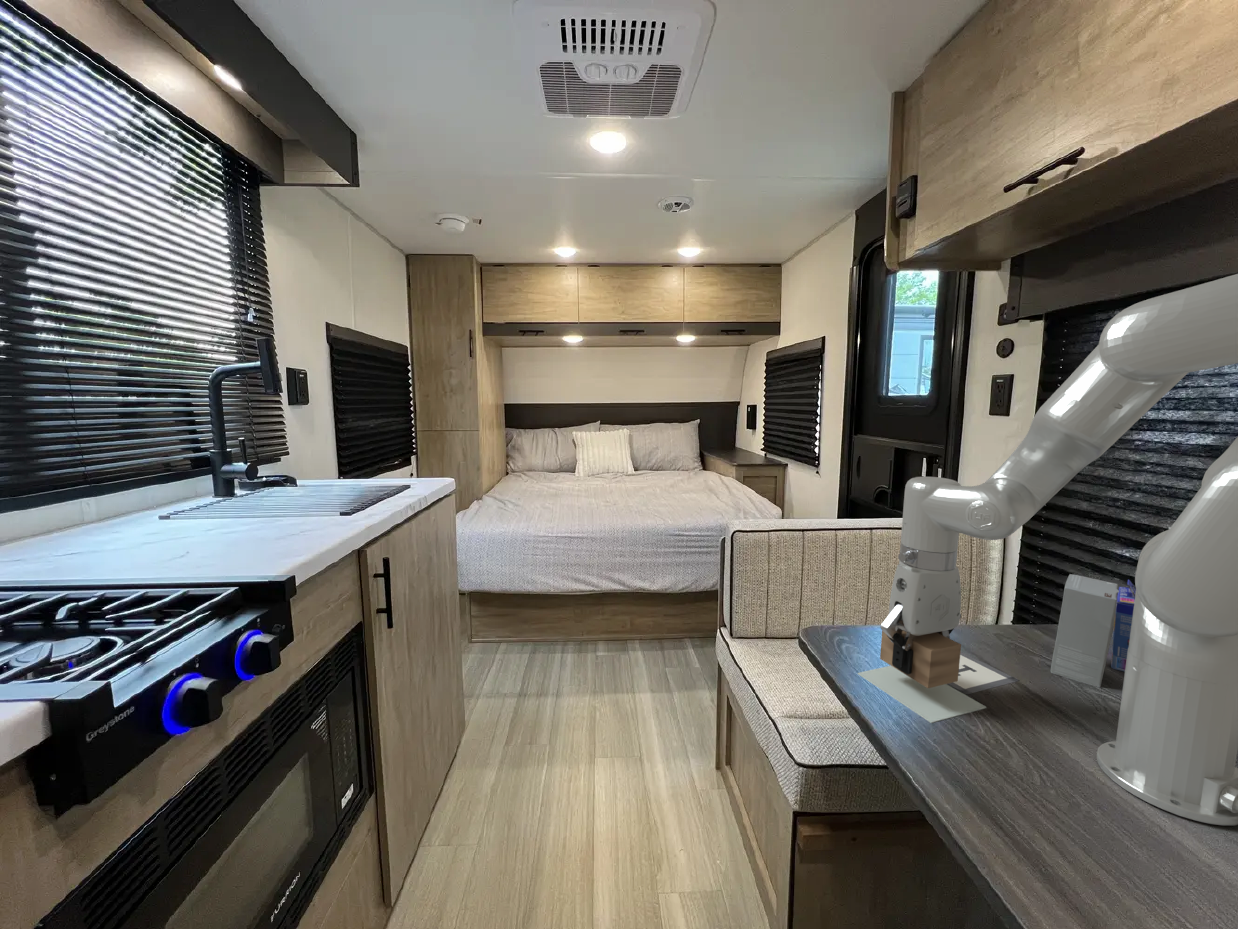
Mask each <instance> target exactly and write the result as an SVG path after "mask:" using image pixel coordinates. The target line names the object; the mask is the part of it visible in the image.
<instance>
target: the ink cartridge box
mask: <svg viewBox="0 0 1238 929" xmlns="http://www.w3.org/2000/svg"><path fill="white" fill-rule="evenodd" d="M1127 586H1128V587H1125V586H1118V590H1119V592H1118V594H1117V604H1116V613H1115V621H1114V628H1113V633H1112V646H1111V663H1110V667H1111V669H1113V670H1117V671H1119V672H1124V673H1125V668H1126V660H1127V652H1128V647H1129V640H1130V632H1131V625H1132V617H1133V610H1134V602H1135V594H1136V586H1134V583H1132V581H1131V580H1130V579H1127Z"/></svg>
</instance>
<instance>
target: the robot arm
mask: <svg viewBox="0 0 1238 929" xmlns="http://www.w3.org/2000/svg"><path fill="white" fill-rule="evenodd" d="M1235 364H1238V273H1236V274H1232V275H1228V276H1225V277H1223V278H1222V277H1221V278H1218V279H1215V280H1212V281H1208V282H1204V283H1201V284H1197V285H1194V286H1189V287H1186V288H1184V289H1180V290H1175V291H1172V292H1169V293H1164V294H1162V295H1158V296H1154V297H1151V298H1148V299H1146V300H1145V299H1144V300H1142V301H1139V302H1137V303H1134V304H1132V305H1130V306H1127V307H1126V308H1124V309H1122V310H1120V312H1118V313H1117V314H1115V315H1114V316H1113V317H1112V318H1111V319H1110V320H1109V321H1108V323H1107V324H1106V325H1105V326H1104V328H1103V330H1102V332H1101V334H1100V337H1099V341H1098V344H1097V346H1096V347H1095V348H1094V349H1093V350H1092V351H1091V352H1090V353H1089V354H1088V355H1087V356H1086V357H1085V359H1083V361H1082V362H1081V363H1080V364H1079V365H1078V366H1077V368H1076V369H1075V370H1074V371H1073V372H1072V373H1071V375H1070V376H1068V378H1066V380H1064V382H1063V383H1062V384H1061V385H1060V386H1059V387H1058V388H1057V389H1056V390H1055V391H1054V392H1053V393H1052V394H1051V395H1050V396H1049V398H1047V400H1046V401H1044V403H1043V404H1042V405H1041V406H1040V407H1039V408H1038V410H1037V412H1036V413H1035V415H1034V416H1033V419H1032V420H1031V423H1030V426H1029V429H1028V431H1027V433H1026V435H1025V437H1024V438H1023V440H1022V441H1021V442H1020V444H1019V445H1018V446H1017V447H1016V448H1015V450H1014V451H1013V452H1012V453H1011V455H1010V456H1009V457H1008V458H1007V459H1006V460H1005V461H1004V462H1003V463H1002V465H1000V466H999V467H998V468H997V469H996V470H995V472H994V473H993V474H992V475H991V476H990V477H989V478H988V479H986V481H985V482H983V483H980V484H977V485H973V486H971V485H970V486H969V485H967V486H966V485H965V486H964V485H962V484H961V483H960V482H959V481H957V480H954V479H950V478H945V477H940V476H939V477H937V476H915V477H912V478H910V479H909V480H907V482H906V484H905V486H904V487H905V488H904V496H903V497H904V498H903V509H902V519H901V520H902V522H901V523H902V524H901V536H900V544H899V545H900V548H899V554H898V555H897V557H898V563H897V566H896V569H895V573H894V576H893V581H892V586H891V591H890V598H889V599H890V600H889V608H888V615H887V616H886V617H885V619H884V621H883V622H882V623H881V624H880V630H881V631H882V630H883V632H884V633H885V634H887V636H888V638H889V639H890V641H891V642H892V643H894V645H893V657H892V665H893V666H894V667H896V668H898V669H899V670H901V671H902V672H904V673H906V674H911V673H912V661H913V650H911V649H910V648H911V645H912V643H913V640H914V638H915V636H920V635H926V634H931V633H936V632H937V633H939V634H941V635H943V636H945V637H947V638H949V639H951V636H950V634H952V632H953V631H954V630H955V628H957V627H958V626H959V624H960V619H961V618H962V614H961V606H962V600H961V599H962V593H961V592H962V591H961V590H962V588H961V587H962V586H961V584H962V583H961V576H960V569H959V567H958V566H957V558H958V549H959V538H960V537H959V536H960V534H963V535H966V536H969V537H971V538H976V539H978V540H979V539H980V540H984V541H998V540H999V541H1000V540H1002V539H1005V538H1008V537H1010V536H1011V535H1012V534H1014V533H1015V532H1017V530H1019V529H1020V528H1021V527H1022V526H1023V525H1025V524H1026V523H1027V522H1028V521H1030V520H1031V518H1032V517H1033V516H1035V515H1036V514H1037V512H1039V511H1040V510H1041V509H1042V508H1043V507H1044V506H1045V505H1046V504H1047V503H1048V502H1049V501H1050V500H1051V499H1052V498H1053V497H1054V496H1055V495H1057V494H1058V492H1059V491H1060V490H1062V489H1063V487H1065V486H1066V485H1067V484H1069V482H1070V481H1071V480H1073V478H1074V477H1075V476H1076V475H1077V474H1078V473H1079V472H1081V471H1082V470H1083V469H1084V468H1085V467H1087V466H1088V465H1089V464H1091V463H1093V462H1094V461H1096V460H1097V459H1099V458H1100V457H1101V456H1103V454H1104V453H1106V451H1107V450H1109V449H1110V448H1111V447H1112V446H1113V445H1114V444H1115V443H1117V441H1119V439H1120V438H1121V437H1122V436H1123V435H1124V434H1126V432H1128V431H1129V430H1130V429H1131V428H1132V427H1133V426H1134V424H1136V423H1138V421H1139V420H1140V419H1142V417H1144V416H1145V415H1146V413H1147V412H1148V411H1149V410H1150V409H1152V408H1153V406H1155V405H1156V404H1157V403H1158V402H1159V401H1160V400H1161V399H1162V398H1163V397H1164V396H1165V395H1167V393H1168V392H1170V391H1171V389H1173V388H1174V387H1175V386H1176V385H1177V384H1178V383H1179V382H1180V381H1182V379H1183V378H1185V376H1187V374H1189V373H1193V372H1199V371H1205V370H1210V369H1215V368H1219V367H1225V366H1230V365H1231V366H1232V365H1235ZM1134 577H1135V578H1134V583H1135V586H1134V587H1135V589H1136V594H1135V602H1134V610H1133V617H1132V625H1131V632H1130V640H1129V647H1128V652H1127V660H1126V668H1125V672H1124V678H1123V684H1122V692H1121V701H1120V707H1119V708H1120V709H1119V715H1118V724H1117V731H1116V737H1115V738H1116V739H1115V740H1112V741H1107V742H1104V743H1102V744H1100V746H1098V747H1097V751H1096V762H1097V763H1098V766H1099V768H1101V770H1102V771H1103V773H1104V774H1105V775H1106V776H1108V777H1109V778H1110V780H1112V781H1113V782H1114V783H1115V784H1117V785H1118V786H1120V787H1121V788H1123V790H1125V791H1127V792H1129V793H1130V794H1132V795H1133V796H1135V797H1137V798H1138V799H1140V800H1142V801H1144V802H1147V803H1148V804H1150V805H1152V806H1155V807H1157V808H1159V809H1161V810H1164V811H1166V812H1169V813H1171V814H1174V815H1176V816H1179V817H1181V818H1186V819H1189V820H1193V821H1196V822H1200V823H1204V824H1209V825H1218V826H1238V767H1236V763H1237V755H1238V436H1237V437H1236V438H1235V440H1234V441H1233V442H1232V443H1231V444H1230V445H1229V446H1228V447H1227V449H1226V450H1225V451H1224V452H1223V453H1222V454H1221V455H1220V456H1219V457H1218V458H1217V459H1216V460H1214V461H1213V462H1212V463H1211V464H1210V465H1209V467H1208V468H1207V469H1206V471H1205V473H1204V475H1203V478H1202V480H1201V487H1200V488H1199V490H1198V491H1197V492H1196V494H1195V495H1194V497H1193V498H1192V499H1191V501H1189V503H1188V504H1187V505H1186V506H1185V508H1184V509H1183V511H1182V512H1181V513H1180V515H1179V516H1178V517H1177V518H1176V520H1175V521H1174V522H1173V524H1172V525H1171V526H1170V527H1169V529H1167V530H1165V531H1162V532H1160V533H1158V534H1157V535H1155V536H1153V537H1152V538H1151V539H1150V540H1149V541H1148V542H1147V543H1145V545H1144V546H1143V547H1142V549H1141V552H1140V554H1139V557H1138V562H1137V566H1136V570H1135V576H1134ZM902 631H905V632H907V634H906V637H905V639H904V638H903V637H902V636H901V634H902Z"/></svg>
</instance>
